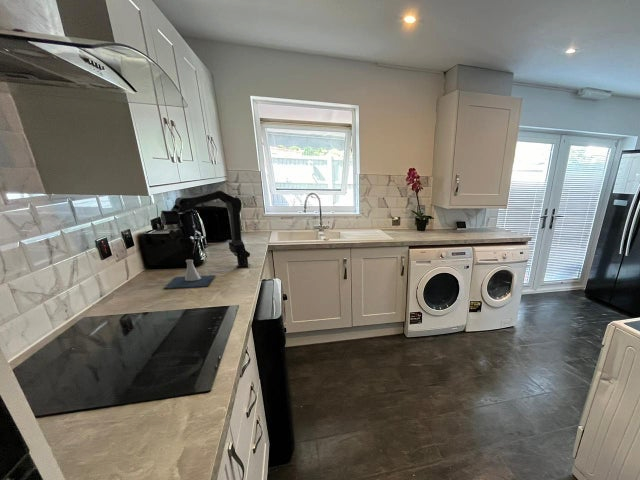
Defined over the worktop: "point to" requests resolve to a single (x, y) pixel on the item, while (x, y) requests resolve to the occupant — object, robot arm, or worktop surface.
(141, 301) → the worktop surface
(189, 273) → the flask
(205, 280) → the mat
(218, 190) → the robot arm
